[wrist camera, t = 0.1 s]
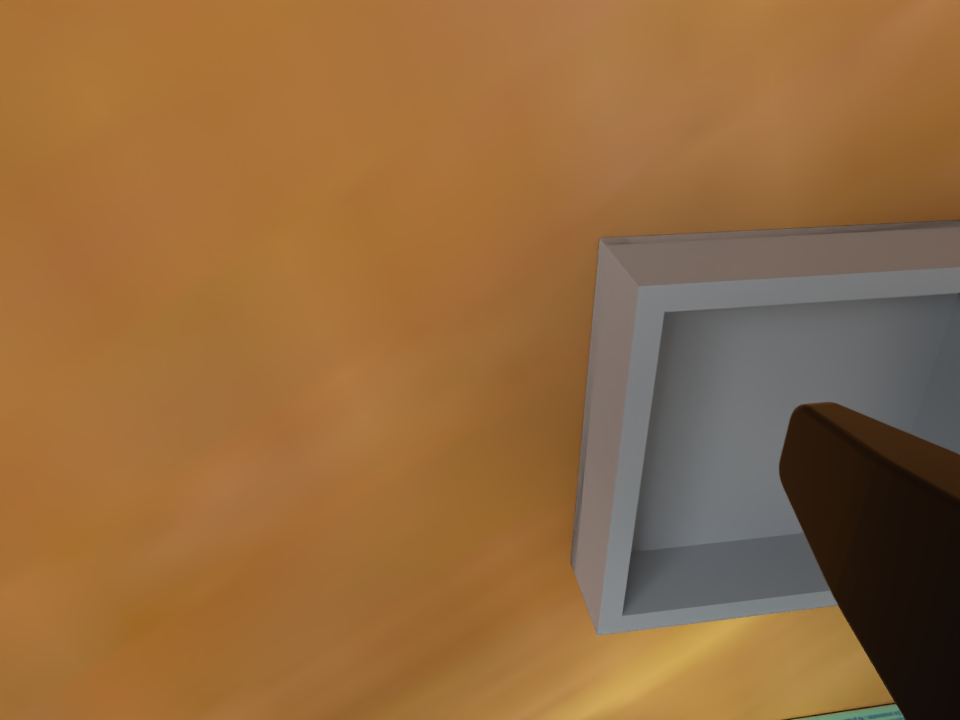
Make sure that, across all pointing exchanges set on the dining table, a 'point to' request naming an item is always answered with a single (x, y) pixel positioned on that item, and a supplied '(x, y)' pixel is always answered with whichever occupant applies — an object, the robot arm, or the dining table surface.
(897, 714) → the milk carton
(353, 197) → the dining table surface
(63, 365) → the dining table surface
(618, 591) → the slate bin
